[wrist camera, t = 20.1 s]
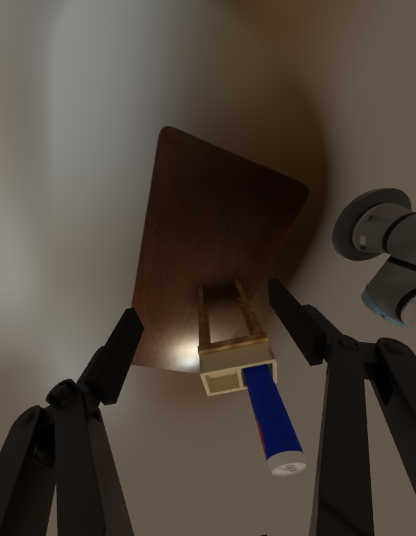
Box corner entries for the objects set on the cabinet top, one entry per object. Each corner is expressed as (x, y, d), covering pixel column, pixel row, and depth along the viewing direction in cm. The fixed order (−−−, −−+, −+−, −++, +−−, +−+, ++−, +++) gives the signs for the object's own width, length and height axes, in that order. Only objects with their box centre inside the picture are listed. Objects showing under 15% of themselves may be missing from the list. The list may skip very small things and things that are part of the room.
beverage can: (236, 362, 35) (262, 471, 21) (256, 350, 34) (297, 458, 20) (249, 373, 37) (281, 479, 23) (269, 362, 35) (314, 467, 22)
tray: (268, 341, 34) (276, 359, 31) (269, 364, 38) (277, 383, 34) (199, 355, 35) (199, 374, 31) (206, 376, 38) (207, 396, 35)
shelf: (238, 277, 57) (268, 337, 34) (241, 300, 62) (269, 367, 38) (196, 286, 58) (197, 351, 34) (202, 308, 62) (207, 379, 39)
